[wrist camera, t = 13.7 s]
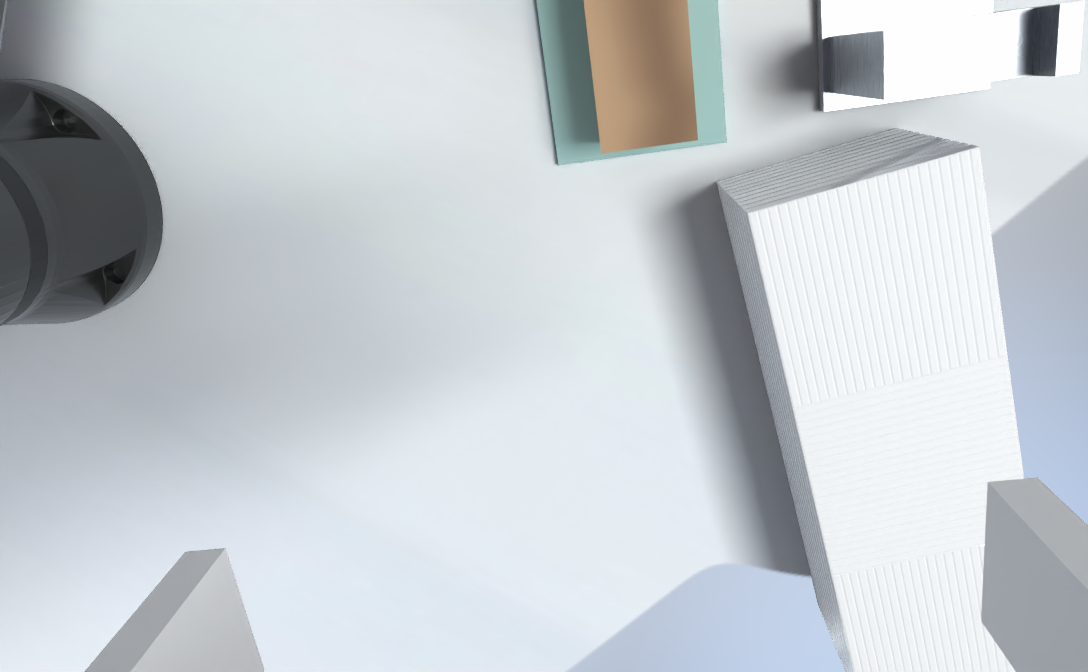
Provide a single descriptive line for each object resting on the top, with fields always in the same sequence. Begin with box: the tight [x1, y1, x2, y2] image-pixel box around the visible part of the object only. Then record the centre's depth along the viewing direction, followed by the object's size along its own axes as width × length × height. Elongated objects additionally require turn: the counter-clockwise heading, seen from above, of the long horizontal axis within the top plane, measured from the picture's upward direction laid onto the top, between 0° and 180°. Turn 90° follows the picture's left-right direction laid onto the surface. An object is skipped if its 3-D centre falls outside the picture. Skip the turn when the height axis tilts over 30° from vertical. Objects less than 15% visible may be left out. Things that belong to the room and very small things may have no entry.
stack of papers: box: [717, 128, 1024, 672], centre depth 46 cm, size 32×11×11 cm, turn 18°
